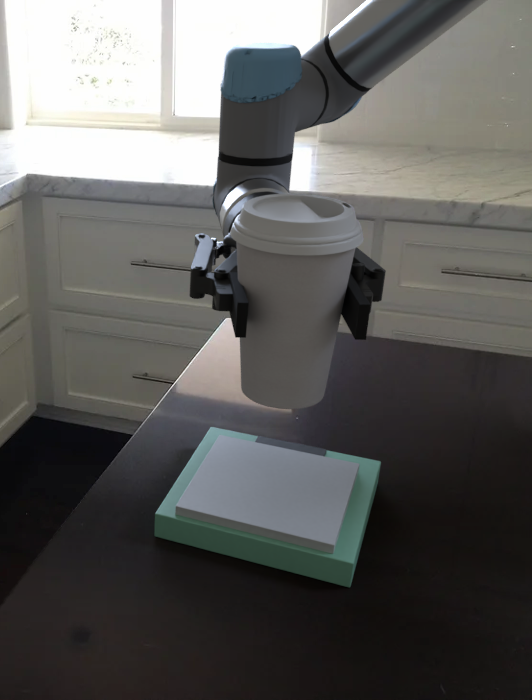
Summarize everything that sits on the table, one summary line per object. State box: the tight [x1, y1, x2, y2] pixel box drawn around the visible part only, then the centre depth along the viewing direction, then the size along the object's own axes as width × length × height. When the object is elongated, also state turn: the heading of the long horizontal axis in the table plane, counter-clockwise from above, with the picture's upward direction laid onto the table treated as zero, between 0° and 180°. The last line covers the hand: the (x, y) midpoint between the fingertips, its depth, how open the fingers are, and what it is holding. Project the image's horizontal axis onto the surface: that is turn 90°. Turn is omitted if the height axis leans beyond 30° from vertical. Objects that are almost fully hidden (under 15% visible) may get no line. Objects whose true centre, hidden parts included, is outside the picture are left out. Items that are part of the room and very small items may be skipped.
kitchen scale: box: [153, 426, 382, 588], centre depth 71 cm, size 15×15×3 cm
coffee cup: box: [230, 192, 365, 410], centre depth 66 cm, size 10×10×15 cm
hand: (302, 321), depth 62 cm, fingers closed on coffee cup, 8 cm apart
